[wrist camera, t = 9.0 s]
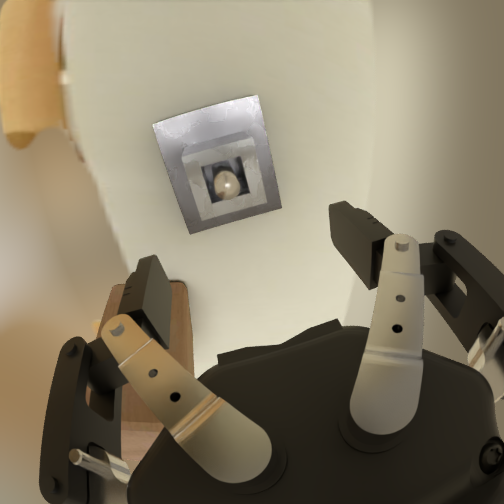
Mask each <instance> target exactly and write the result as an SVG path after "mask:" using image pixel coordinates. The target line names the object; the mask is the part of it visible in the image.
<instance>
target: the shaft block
mask: <svg viewBox="0 0 504 504" xmlns="http://www.w3.org/2000/svg"><path fill="white" fill-rule="evenodd" d="M152 126H153V129H154V132H155V135H156V138H157V142H158V145H159V148H160V151H161V154H162V157H163V160H164V163H165V166H166V169H167V172H168V175H169V178H170V181H171V184H172V187H173V189H174V192H175V195H176V198H177V201H178V203H179V206H180V209H181V212H182V214H183V217H184V220H185V223H186V225H187V228H188V231H189V233H190V234H193V233H197V232H200V231H203V230H207V229H210V228H213V227H217V226H220V225H223V224H227V223H230V222H234V221H237V220H241V219H244V218H248V217H251V216H255V215H258V214H262V213H266V212H269V211H273V210H276V209H280V208H282V206H281V201H280V196H279V191H278V186H277V181H276V176H275V171H274V166H273V161H272V157H271V152H270V147H269V143H268V138H267V133H266V129H265V125H264V120H263V116H262V111H261V107H260V103H259V99H258V95H253V96H249V97H244V98H239V99H235V100H231V101H227V102H223V103H219V104H215V105H211V106H208V107H204V108H200V109H197V110H194V111H190V112H187V113H184V114H181V115H178V116H175V117H172V118H169V119H166V120H163V121H160V122H157V123H155V124H152ZM242 131H244V132H245V133H247V134H248V135H250V136H251V137H253V140H254V145H255V149H256V154H257V158H258V163H259V167H260V172H261V176H262V181H263V185H264V190H265V195H266V200H267V203H264V204H260V205H256V206H252V207H249V208H245V209H242V210H238V211H234V212H231V213H227V214H224V215H220V216H217V217H214V218H210V219H207V220H203V221H202V220H201V217H200V214H199V211H198V208H197V205H196V202H195V199H194V196H193V193H192V190H191V187H190V183H189V180H188V177H187V174H186V171H185V168H184V164H183V161H182V158H181V157H182V154H183V151H184V148H185V147H188V146H191V145H194V144H197V143H201V142H204V141H208V140H211V139H215V138H219V137H222V136H226V135H230V134H234V133H238V132H242ZM204 169H205V172H206V176H207V179H208V183H209V186H211V185H214V186H215V192H216V194H217V196H218V197H219V198H221V199H223V200H231V199H233V198H235V197H236V196H237V195H238V194H239V191H240V184H239V182H238V180H237V178H239V177H241V174H240V170H239V166H238V162H237V158H236V157H235V158H231V159H227V160H223V161H220V162H216V163H213V164H209V165H206V166H204Z"/></svg>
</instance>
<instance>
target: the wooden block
mask: <svg viewBox="0 0 504 504" xmlns="http://www.w3.org/2000/svg"><path fill="white" fill-rule="evenodd" d="M170 285H171V288H172V305H171V321H170V342H169V349H166V350H165V351H167V352H168V353H169V354H170V355H171V356H172V357H173V358H174V359H175V360H176V361H177V362H178V363H179V364H180V365H181V366H182V367H184V368H185V369H186V370H187V371H188V372H189V373H190V374H191V375H192V376H194V359H193V334H192V326H191V318H190V310H189V302H188V293H187V289H186V287H185V286H184V283H180V282H170ZM124 287H125V284H118V285H115V286H114V287H112V290H111V293H110V296H109V299H108V302H107V305H106V308H105V311H104V314H103V317H102V321H101V324H100V327H99V331H98V334H97V337H96V339H98V338H100V337H101V331H102V328H103V327H104V325H105V324H106V322H107V321H109V320H110V319H111V318H113V317H114V316H117V312H118V309H119V305H120V301H121V298H122V296H123V295H122V294H123V291H124ZM90 392H91V389H90V388H89V387H88V386H87V389H86V402H87V404H88V406H89V401H90ZM163 428H164V425H163V424H162V423H161V422H160V421H159V419H158V418H157V417H156V416H155V415H154V414H153V412H152V411H151V410H150V409H149V407H148V406H147V405H146V404H145V402H144V401H143V400H142V399H141V397H140V396H139V395H138V393H137V392H136V391H135V390H134V388H133V387H132V386H131V384H130V383H127V384H125V385H123V386H122V407H121V455H122V459H128V460H138V461H141V460H142V458H143V457H144V456H145V454H146V453H147V451H148V450H149V448H150V447H151V445H152V444H153V442H154V441H155V440H156V438H157V437H158V435H159V434H160V432H161V431H162V429H163Z"/></svg>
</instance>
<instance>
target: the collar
mask: <svg viewBox="0 0 504 504" xmlns="http://www.w3.org/2000/svg"><path fill="white" fill-rule="evenodd" d="M235 157H236V158H237V162H238V166H239V170H240V174H241V177H239V178H237V180H238V182H239V184H240V191H239V194H238V195H237V196H236V197H235V198H233V199H231V200H223V199H221V198H219V197H218V196H217V194H216V192H215V186H214V185H211V186H209V183H208V179H207V176H206V172H205V169H204V166H206V165H209V164H213V163H216V162H220V161H223V160H227V159H231V158H235ZM181 158H182V161H183V164H184V168H185V171H186V174H187V177H188V180H189V183H190V187H191V190H192V193H193V196H194V199H195V202H196V205H197V208H198V211H199V214H200V217H201V220H202V221H203V220H207V219H210V218H214V217H217V216H220V215H224V214H227V213H231V212H234V211H238V210H242V209H245V208H249V207H252V206H256V205H260V204H264V203H267V200H266V195H265V190H264V185H263V181H262V176H261V172H260V167H259V163H258V158H257V154H256V149H255V145H254V140H253V137H251V136H250V135H248V134H247V133H245V132H244V131H242V132H238V133H234V134H230V135H226V136H222V137H219V138H215V139H211V140H208V141H204V142H201V143H197V144H194V145H191V146H188V147H185V148H184V151H183V154H182V157H181Z"/></svg>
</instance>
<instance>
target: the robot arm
mask: <svg viewBox="0 0 504 504" xmlns="http://www.w3.org/2000/svg"><path fill="white" fill-rule="evenodd" d="M329 219H330V231H331V238H332V242H333V244H334V246H335V247H336V249H337V250H338V251H339V252H340V254H341V255H342V256H343V257H344V259H345V260H346V261H347V262H348V264H349V265H350V266H351V267H352V269H353V270H354V271H355V272H356V274H357V275H358V276H359V278H360V279H361V280H362V281H363V283H364V284H365V285H366V287H367V288H368V289H369V290H371V289H374V288H376V287H378V289H377V295H376V301H375V306H374V311H373V316H372V321H371V326H370V328H367V327H361V326H341V324H340V322H339V320H338V319H334V320H332V321H329V322H326V323H323V324H320V325H317V326H314V327H311V328H309V329H307V330H305V331H303V332H302V333H300V334H298V335H296V336H295V337H293V338H291V339H289V340H288V341H286V342H284V343H282V344H279V345H269V346H255V347H245V348H241V349H238V350H234V351H230V352H226V353H222V354H218V355H217V358H218V364H217V365H215V366H213V367H212V368H210V369H208V370H207V371H206V372H204V373H203V374H202V375H201V376H200V377H199V378H198V379H196V378H195V377H194V376H192V375H191V374H190V373H189V372H188V371H187V370H186V369H185V368H184V367H182V366H181V365H180V364H179V363H178V362H177V361H176V360H175V359H174V358H173V357H172V356H171V355H170V354H169V353H168V352H167V351H165V350H166V349H169V342H170V321H171V305H172V288H171V285H170V282H169V280H168V278H167V276H166V274H165V272H164V270H163V268H162V265H161V263H160V261H159V259H158V257H157V256H156V255H151V256H148V257H145V258H142V259H139V262H138V265H137V269H136V272H133V273H132V274H131V275H130V276H129V278H128V279H127V281H126V284H125V287H124V291H123V294H122V295H123V296H122V298H121V301H120V305H119V309H118V312H117V316H114V317H113V318H111V319H110V320H109V321H107V322H106V324H105V325H104V327H103V328H102V331H101V337H100V338H98V339H96V340H94V341H92V342H90V343H88V344H87V343H86V341H85V340H84V339H83V338H82V337H74V338H71V339H70V340H68V341H67V342H66V343H65V344H64V345H63V347H62V349H61V351H60V354H59V357H58V361H57V365H56V368H55V373H54V377H53V381H52V385H51V390H50V394H49V399H48V405H47V410H46V416H45V422H44V429H43V437H42V445H41V456H40V473H39V486H40V491H41V494H42V495H43V497H44V499H45V500H46V501H47V502H49V503H50V504H504V442H503V441H502V439H501V437H500V435H499V431H498V427H497V422H496V417H495V402H497V401H498V400H499V399H504V275H503V274H502V273H501V272H500V271H499V270H498V269H497V268H496V267H495V266H494V265H493V264H492V263H491V262H490V261H489V260H488V259H487V258H486V257H485V256H484V255H482V253H480V252H479V251H478V250H477V249H476V248H475V247H474V246H473V245H471V244H470V243H469V242H468V241H467V240H466V239H464V238H463V237H462V236H461V235H460V234H458V233H456V232H454V231H450V230H441V231H438V232H437V233H436V234H435V237H434V242H433V243H423V244H418V241H416V239H414V238H413V237H411V236H409V235H406V234H394V233H392V232H391V231H390V230H389V229H388V228H386V227H385V226H384V225H383V224H382V223H380V222H379V221H378V220H377V219H376V218H374V217H373V216H372V215H371V214H370V213H368V212H367V211H364V210H362V209H359V208H356V209H355V208H354V207H353V206H351V205H350V204H349V203H348V202H346V201H341V202H337V203H333V204H330V205H329ZM456 276H458V277H459V278H460V279H461V281H462V282H463V283H464V284H465V286H466V289H467V296H466V295H465V294H464V293H463V291H462V290H461V289H460V288H459V287H458V286H457V285H456V283H455V280H456ZM424 295H426V296H427V297H428V298H429V300H430V301H431V302H432V304H433V305H434V306H435V308H436V309H437V310H438V311H439V313H440V314H441V316H442V317H443V318H444V320H445V321H446V322H447V324H448V325H449V326H450V328H451V329H452V330H453V332H454V333H455V335H456V336H457V338H458V339H459V341H460V342H461V344H462V345H463V347H464V348H465V350H466V351H467V352H468V363H469V366H467V365H464V364H462V363H459V362H456V361H454V360H451V359H448V358H446V357H443V356H440V355H438V354H435V353H433V352H430V351H427V350H425V349H422V345H423V329H424ZM127 383H130V384H131V386H132V387H133V388H134V390H135V391H136V392H137V393H138V395H139V396H140V397H141V399H142V400H143V401H144V402H145V404H146V405H147V406H148V407H149V409H150V410H151V411H152V412H153V414H154V415H155V416H156V417H157V418H158V419H159V421H160V422H161V423H162V424H163V425H164V428H163V429H162V431H161V432H160V434H159V435H158V437H157V438H156V440H155V441H154V442H153V444H152V445H151V447H150V448H149V450H148V451H147V453H146V454H145V456H144V457H143V458H142V460H141V461H140V463H139V464H138V466H137V467H136V469H135V470H134V471H133V473H132V474H130V471H129V468H128V466H127V464H126V463H125V462H124V461H123V460H122V455H121V407H122V386H123V385H125V384H127ZM87 386H88V387H89V388H90V389H91V392H90V401H89V406H88V404H87V402H86V389H87Z"/></svg>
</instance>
